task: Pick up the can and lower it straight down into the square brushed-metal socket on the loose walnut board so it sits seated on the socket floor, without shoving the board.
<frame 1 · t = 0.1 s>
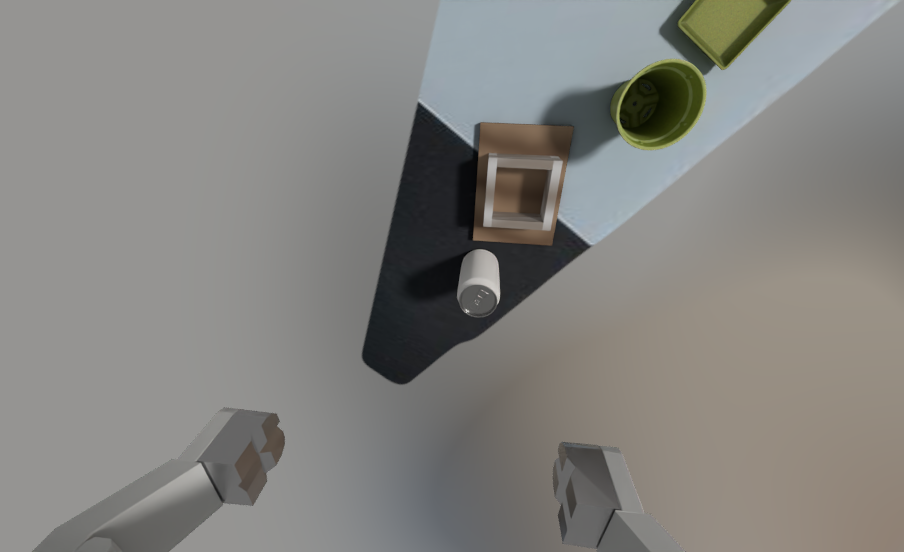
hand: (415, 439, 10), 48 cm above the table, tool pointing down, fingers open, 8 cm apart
plant pot: (632, 104, 47), on the table
socket board: (518, 186, 54), on the table
saucer: (721, 15, 42), on the table
can: (480, 264, 61), on the table
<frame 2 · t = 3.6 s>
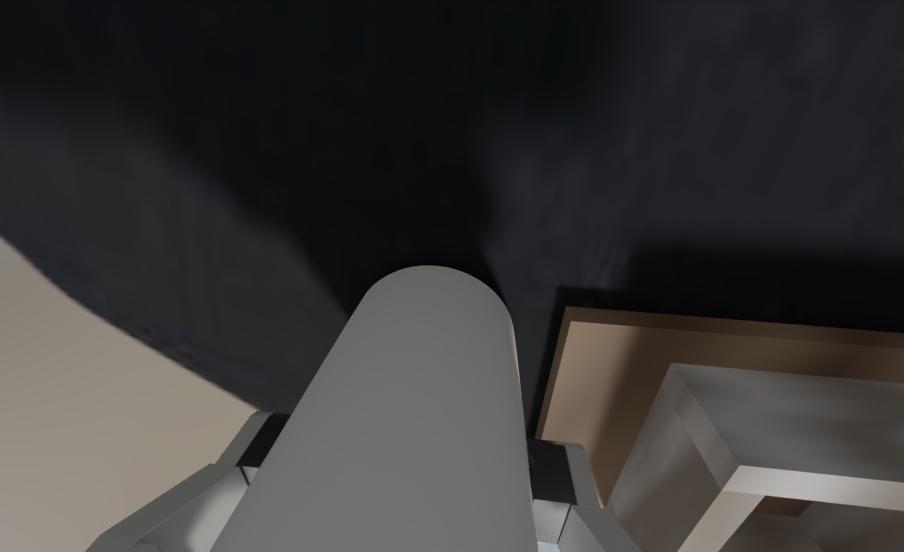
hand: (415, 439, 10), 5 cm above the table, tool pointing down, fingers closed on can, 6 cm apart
socket board: (729, 429, 16), on the table
can: (436, 326, 14), on the table, touching gripper
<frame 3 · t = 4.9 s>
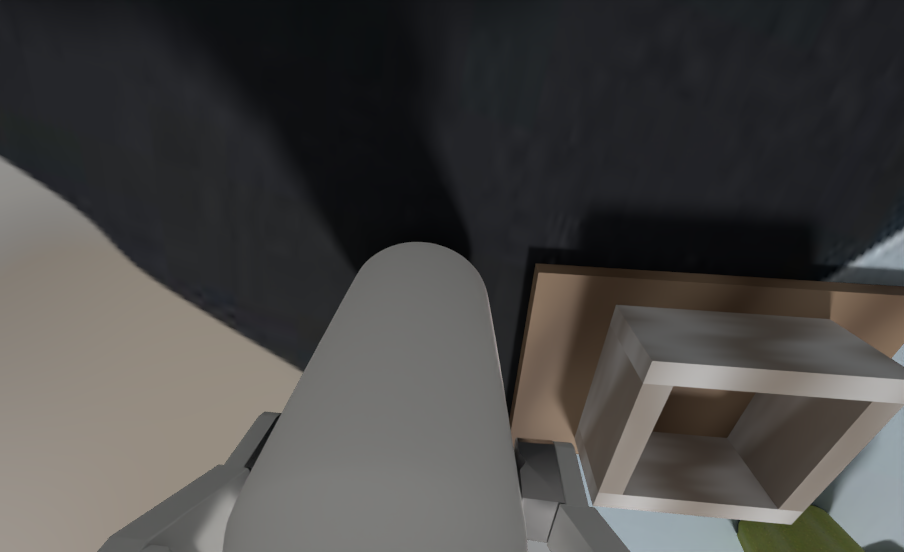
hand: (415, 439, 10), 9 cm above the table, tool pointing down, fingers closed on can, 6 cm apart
plant pot: (776, 520, 26), on the table
socket board: (671, 367, 20), on the table
can: (421, 297, 17), point 1 cm above the table, touching gripper
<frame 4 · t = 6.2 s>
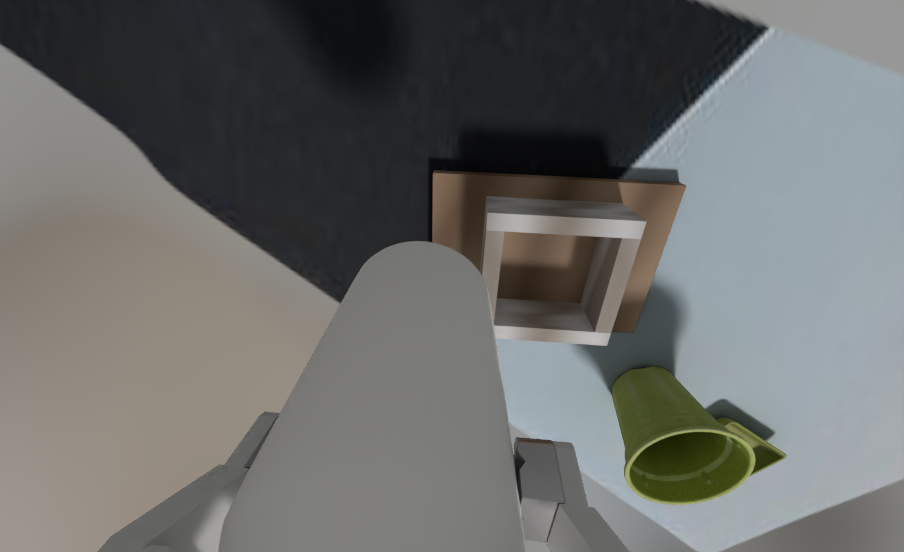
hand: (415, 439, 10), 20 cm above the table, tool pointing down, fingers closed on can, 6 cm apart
plant pot: (640, 385, 35), on the table
socket board: (540, 253, 29), on the table
saucer: (711, 441, 38), on the table
can: (422, 297, 17), point 12 cm above the table, touching gripper
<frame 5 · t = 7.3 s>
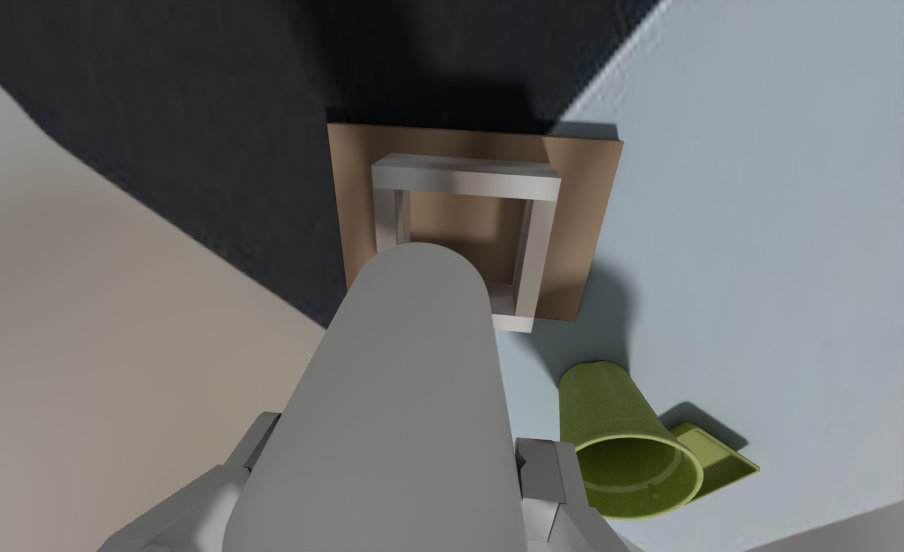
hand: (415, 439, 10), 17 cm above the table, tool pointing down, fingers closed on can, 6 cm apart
plant pot: (592, 382, 31), on the table
socket board: (465, 225, 25), on the table
saucer: (676, 448, 34), on the table
can: (421, 298, 17), point 9 cm above the table, touching gripper
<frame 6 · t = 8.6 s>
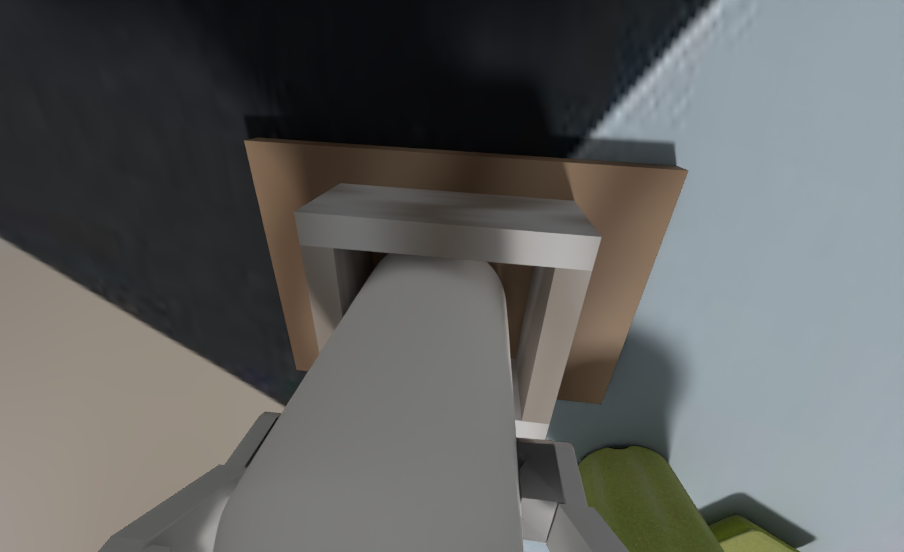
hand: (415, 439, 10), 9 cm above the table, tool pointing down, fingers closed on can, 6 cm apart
plant pot: (618, 468, 24), on the table
socket board: (452, 277, 18), on the table
saucer: (721, 538, 27), on the table
can: (438, 296, 16), point 1 cm above the table, touching gripper
when the fingers open (8 cm above the table, at t = 9.4 s): can stays where it is, resting on socket board.
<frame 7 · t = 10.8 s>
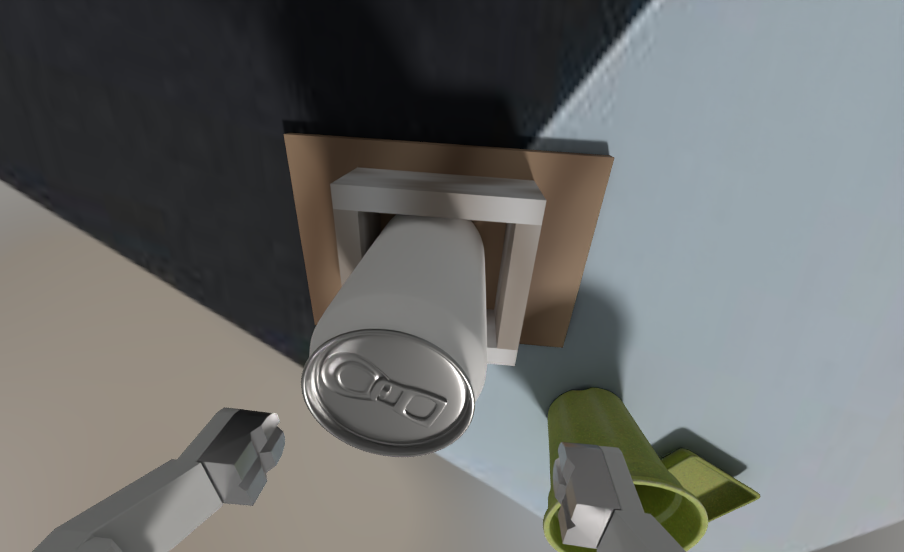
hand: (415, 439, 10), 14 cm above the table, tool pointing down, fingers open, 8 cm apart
plant pot: (583, 410, 28), on the table
socket board: (443, 245, 23), on the table, touching can
saucer: (672, 474, 32), on the table
can: (433, 249, 22), resting on socket board
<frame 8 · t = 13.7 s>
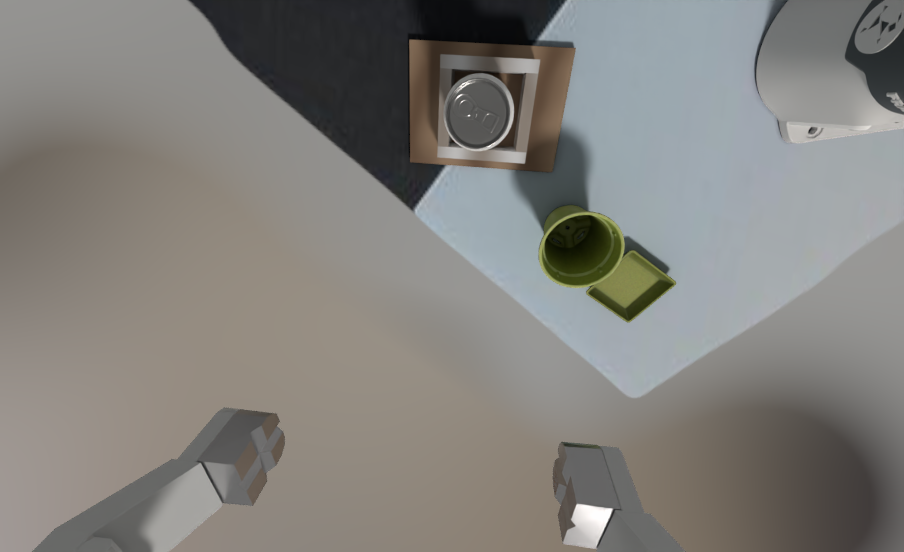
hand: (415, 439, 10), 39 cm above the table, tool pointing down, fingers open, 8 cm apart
plant pot: (565, 225, 47), on the table
socket board: (485, 109, 41), on the table, touching can
saucer: (624, 280, 50), on the table
can: (482, 109, 40), resting on socket board
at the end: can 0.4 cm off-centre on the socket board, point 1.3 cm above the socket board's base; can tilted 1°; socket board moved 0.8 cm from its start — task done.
